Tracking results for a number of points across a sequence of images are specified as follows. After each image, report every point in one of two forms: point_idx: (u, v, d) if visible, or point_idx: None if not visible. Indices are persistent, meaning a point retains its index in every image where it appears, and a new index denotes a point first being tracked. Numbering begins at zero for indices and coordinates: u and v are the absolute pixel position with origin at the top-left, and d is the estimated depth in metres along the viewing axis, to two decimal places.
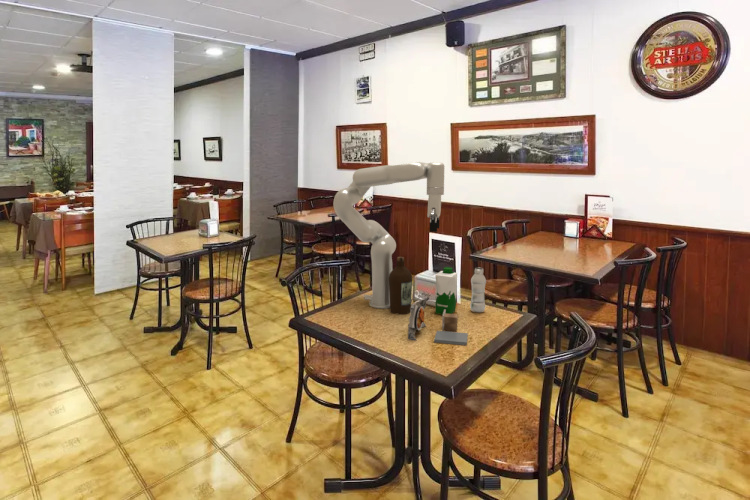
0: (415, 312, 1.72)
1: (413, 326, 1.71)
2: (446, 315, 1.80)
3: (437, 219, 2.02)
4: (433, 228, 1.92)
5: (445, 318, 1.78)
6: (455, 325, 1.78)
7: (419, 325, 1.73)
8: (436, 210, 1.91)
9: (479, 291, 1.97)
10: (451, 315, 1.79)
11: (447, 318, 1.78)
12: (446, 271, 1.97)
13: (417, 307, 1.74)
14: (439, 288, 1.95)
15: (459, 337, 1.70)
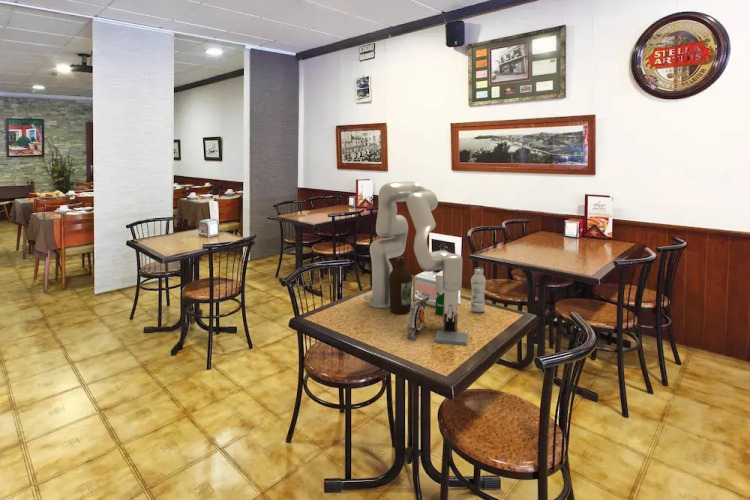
0: (415, 312, 1.72)
1: (413, 326, 1.71)
2: (446, 315, 1.80)
3: None
4: (450, 327, 1.77)
5: (445, 318, 1.78)
6: (455, 325, 1.78)
7: (419, 325, 1.73)
8: (453, 311, 1.74)
9: (479, 291, 1.97)
10: None
11: None
12: None
13: (417, 307, 1.74)
14: (439, 288, 1.95)
15: (459, 337, 1.70)
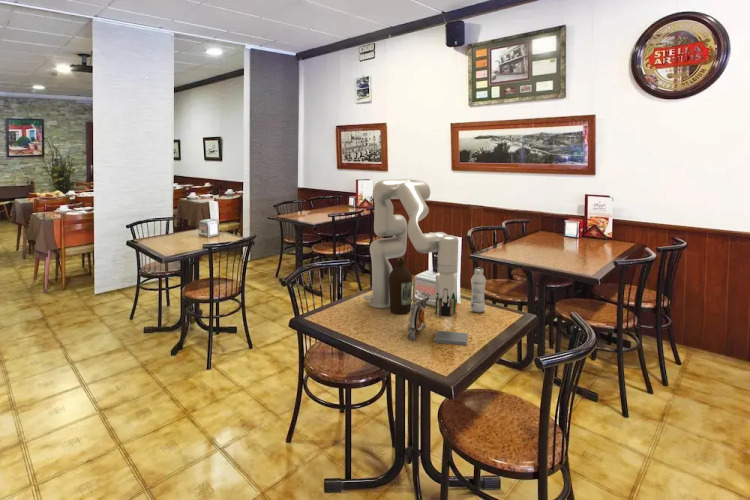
0: (415, 312, 1.72)
1: (413, 326, 1.71)
2: (441, 300, 1.72)
3: None
4: (445, 312, 1.69)
5: (440, 303, 1.70)
6: (451, 310, 1.70)
7: (419, 325, 1.73)
8: (448, 295, 1.66)
9: (479, 291, 1.97)
10: None
11: None
12: None
13: (417, 307, 1.74)
14: None
15: (459, 337, 1.70)
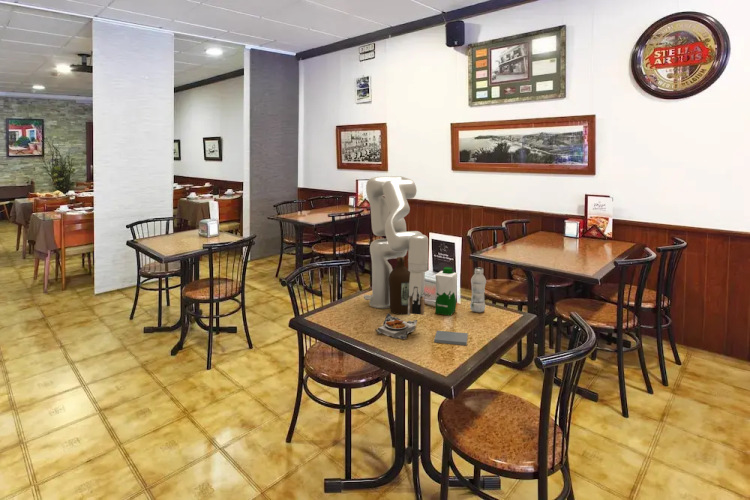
0: (385, 328, 1.78)
1: (395, 332, 1.74)
2: (412, 297, 1.74)
3: None
4: (416, 310, 1.72)
5: (411, 300, 1.73)
6: (421, 308, 1.73)
7: (399, 326, 1.76)
8: (418, 293, 1.69)
9: (479, 291, 1.97)
10: (417, 298, 1.74)
11: None
12: (446, 271, 1.97)
13: (384, 326, 1.80)
14: (439, 288, 1.95)
15: (459, 337, 1.70)
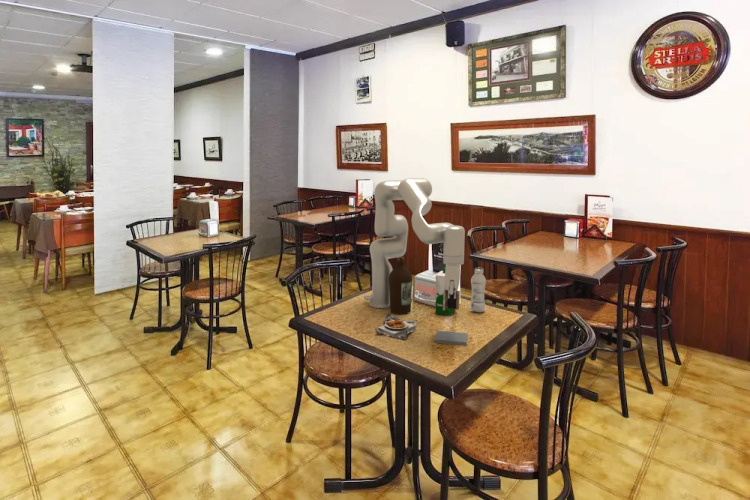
0: (385, 328, 1.78)
1: (395, 332, 1.74)
2: (447, 292, 1.67)
3: None
4: (452, 305, 1.65)
5: (446, 295, 1.66)
6: (457, 302, 1.65)
7: (399, 326, 1.76)
8: (455, 287, 1.62)
9: (479, 291, 1.97)
10: None
11: None
12: None
13: (384, 326, 1.80)
14: (439, 288, 1.95)
15: (459, 337, 1.70)
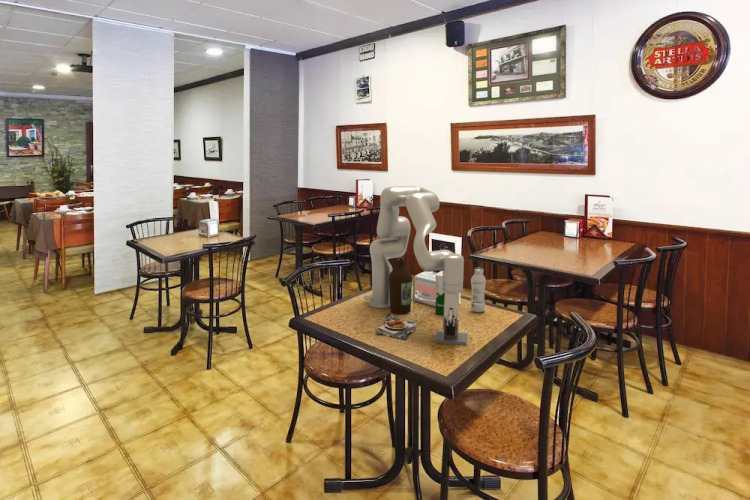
0: (385, 328, 1.78)
1: (395, 332, 1.74)
2: (446, 321, 1.70)
3: None
4: (450, 332, 1.65)
5: (445, 324, 1.68)
6: (456, 332, 1.68)
7: (399, 326, 1.76)
8: (454, 312, 1.63)
9: (479, 291, 1.97)
10: None
11: None
12: None
13: (384, 326, 1.80)
14: (439, 288, 1.95)
15: (459, 337, 1.70)
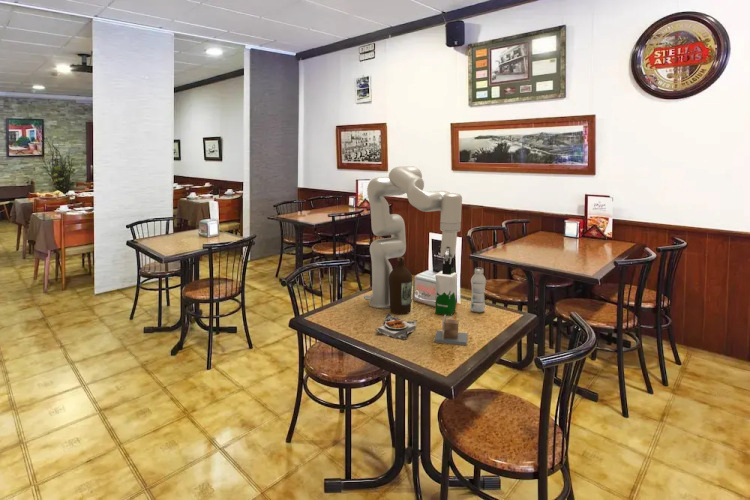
0: (385, 328, 1.78)
1: (395, 332, 1.74)
2: (446, 321, 1.70)
3: (451, 257, 1.74)
4: (447, 270, 1.65)
5: (445, 324, 1.68)
6: (456, 332, 1.68)
7: (399, 326, 1.76)
8: (451, 250, 1.63)
9: (479, 291, 1.97)
10: (451, 321, 1.69)
11: (447, 324, 1.68)
12: None
13: (384, 326, 1.80)
14: (439, 288, 1.95)
15: (459, 337, 1.70)
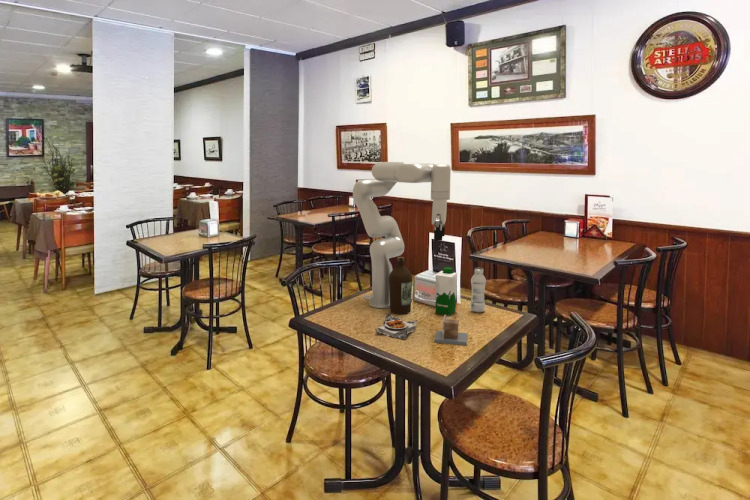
0: (385, 328, 1.78)
1: (395, 332, 1.74)
2: (446, 321, 1.70)
3: (442, 226, 1.84)
4: (438, 236, 1.75)
5: (445, 324, 1.68)
6: (456, 332, 1.68)
7: (399, 326, 1.76)
8: (441, 217, 1.74)
9: (479, 291, 1.97)
10: (451, 321, 1.69)
11: (447, 324, 1.68)
12: (446, 271, 1.97)
13: (384, 326, 1.80)
14: (439, 288, 1.95)
15: (459, 337, 1.70)
